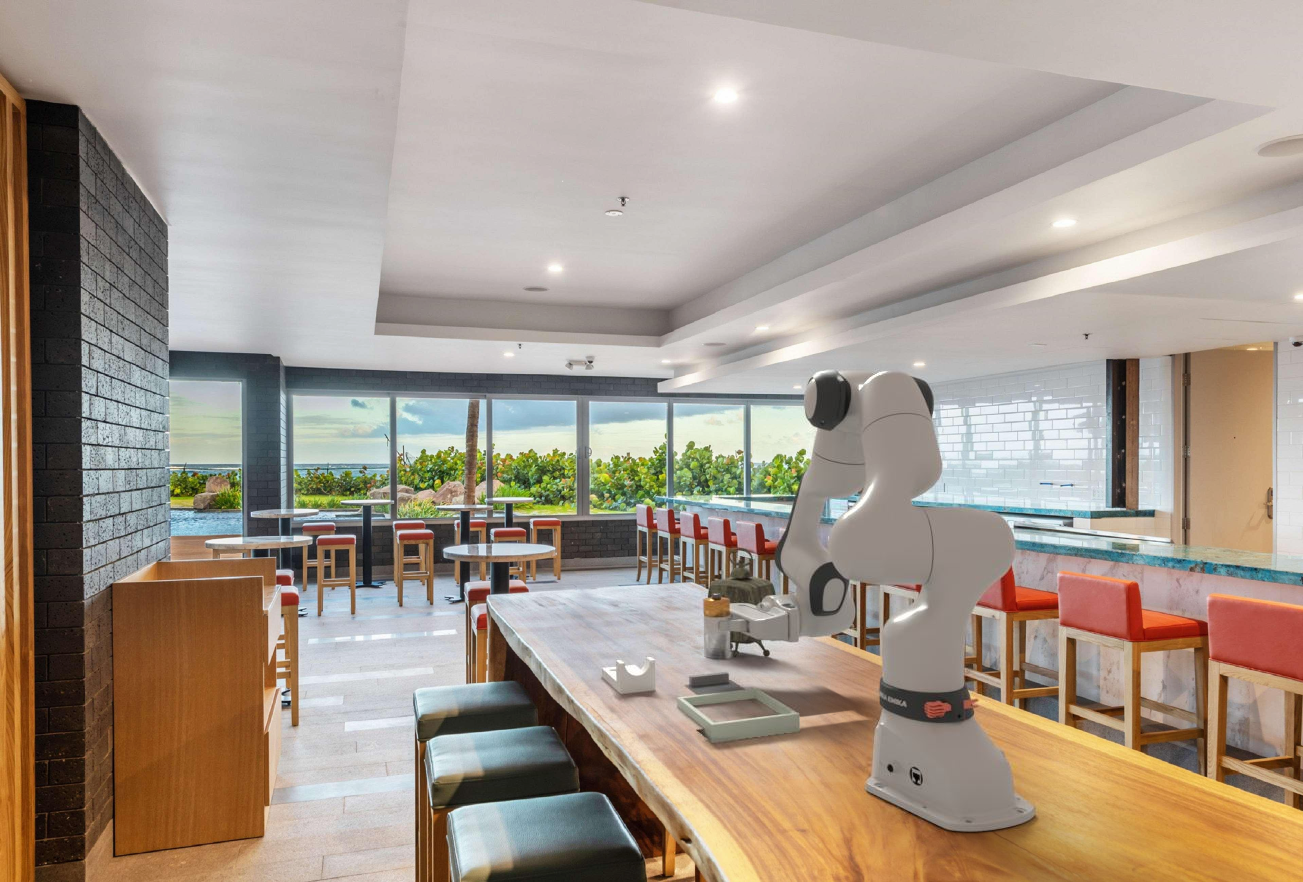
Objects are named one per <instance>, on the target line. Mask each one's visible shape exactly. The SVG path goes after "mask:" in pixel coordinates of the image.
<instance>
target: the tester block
mask: <svg viewBox="0 0 1303 882" xmlns="http://www.w3.org/2000/svg"><path fill="white" fill-rule="evenodd" d="M729 675H730V674H729V673H728V671H723V672H713V673H712V672H711V673H703V674H693V675H689V676H688V679H689V681H688V684H684V686H685V687H686V688H687V689H689V690H690V691H692V692H693V694H695V695H703V694H712V693H721V692H730V691H739V690H747V689H746V688H744V687H742V686H741V685H739V684H738V683H737V682H735V681H733V680H732V679H730V676H729Z"/></svg>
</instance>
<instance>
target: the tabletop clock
mask: <svg viewBox="0 0 1303 882" xmlns="http://www.w3.org/2000/svg"><path fill="white" fill-rule="evenodd" d="M736 551H737V552H738V551H739V552H745V553H747V554H748V555H749V557H750V560H749V561H748V562H745V563H743V562H744V561H743V559H738V561H734V560H733V559H732V558H731V556H732V554H733V552H736ZM753 559H754V558H753V554H752V553H751V552H750V550H749V549H747V548H744V547H735V548H732V549H731V550H730V551H729V553H728V560H729V562H730V563H731V564H733V565H735V566H736V567H734V568H733V569H732V570H731V572H730V575H729V577H727V578H721V579H716V580H713V581H712V582H711V584H710V585H709V588H708V592H707V598H711V597H712V594H716V593H717V594H721V597H722V598H728V599H730V603H748V604H752V605H755V606H757V605H758V604H759V603H761V602H762V600H763V598H764V597H766V596H772V595H777V594H776V589H775V586H774V584H773V582H772V581H770V580H768V579H765V578H760V577H755V576H752V573H751V571H750V570H749V568H747V566H750V565H751V564H752V563H753ZM754 643H755V644H756V645H758V646H759V647H760V648H761V650H762V651H763V652H762V655H763V656H764V657H767V658H768V657H770V654H771V651H770V650H768V649H766V648H765V646H764V643H763V642H762V640H759V639H755V638H753V637H751V636H749V635H746V634H744V633H742V632H737V631H730V650H732V649H733V648H734V650H733V651H732V656H733V658H738V657H739V656H740V651H739V650H738V649H739V645H740V644H741V645H742V644H743V645H751V644H754ZM734 645H735V646H734Z"/></svg>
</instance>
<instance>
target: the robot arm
mask: <svg viewBox="0 0 1303 882" xmlns="http://www.w3.org/2000/svg"><path fill="white" fill-rule="evenodd" d="M934 402H935V399H934V393H933V391H932V389H931V387H930V385H929V384H928V382H927V381H925V380H924V379H921V378H918V377H915V376H912V375H910V374H908V373H906V372H904V371H901V370H884V371H879V372H878V371H872V370H858V369H857V370H853V369H851V370H837V369H834V368H833V369H826V370H820V371H817V372H815V373H814V374H813V375H812V376H811V377H810V378H809V380H808V381H807V385H806V388H805V391H804V395H803V406H804V407H803V408H804V414H805V417H806V420H807V421H808V422H809V423H810V425H811V426H812V427H814V428H817V429H816V433H815V437H814V442H813V448H812V453H811V458H810V460H809V461H810V462H809V465H808V467H807V468H805V470H804V471H803V474H802V476H801V478H800V480H799V482H798V485H797V489H796V492H795V495H794V499H793V503H792V506H791V511H790V515H789V517H788V521H787V525H786V527H785V530H784V532H783V534H782V536H781V538H780V539H779V541H778V543H777V545H776V548H775V551H774V563H775V566H776V568H777V569H778V571H779V572H780V573H782V574H783V575H784V576H785V577H786V578H787V579H789V580H790V581H791V582H792V584H794V585H795V592H794V593H788V594H776V595H772V596H766V597H764V598H763V600H762V602H761V603H759V604H758V605H757V606H755V605H752V604H748V603H730V620H729V621H728V620H720V621H718V629H719V630H721V631H737V632H742V633H744V634H746V635H749V636H751V637H753V638H755V639H759V640H761V641H770V642H781V641H782V642H786V643H798V642H799V640H800V638H802V637H807V638H821V637H828V636H833V635H838V634H840V633H842V632H844V631H846V630H848V629H849V628H851V626H852V625H853V623H854V620H855V617H856V605H855V601H854V600H853V598H852V597H851V594H850V591H849V586H850V581H854V582H855V581H856V582H860V583H866V584H870V585H877V586H883V585H884V586H887V585H888V586H889V585H890V586H891V585H893V586H894V585H895V586H896V585H899V586H900V585H904V586H905V585H908V586H909V585H920V586H921V587H920V588H921V589H920V591H919V594H918V596H917V597H916V599H915V600H914V601H913V602H912V603H911V604H910V605H908V606H907V607H905V608H903V609H901V610H900V609H899V610H898V611H897V612H896V613H893V614H892V615H891V616H890V617H889V618H888V620H886V622H885V623H884V626H883V628H882V631H881V650H882V651H881V655H882V657H881V660H882V663H881V667H882V668H881V669H882V670H881V671H882V677H880V679H879V686H878V697H879V698H878V699H879V705H880V707H881V713H880V717H879V720H878V722H877V725H875V729H874V737H873V747H872V749H873V751H872V763H871V776H870V777H868V779H866V781H865V788H864V789H865V790H866V791H867V792H869V793H870V794H872V795H875V796H877V797H879V798H881V799H882V800H885V801H887V802H889V803H891V804H893V805H896V806H898V807H900V808H902V809H903V810H906V811H908V812H911V813H912V814H914V815H917V816H918V817H920V818H922V819H924V820H926V821H928V822H931V823H932V824H935V825H937V826H939V827H941V828H943V829H945V830H948V831H955V832H983V831H993V830H999V829H1006V828H1009V827H1013V826H1017V825H1021V824H1024V823H1027V822H1028V821H1030V820H1032V819H1033V818H1034V816H1035V815H1036V809H1035V806H1034V805H1033V804H1032V803H1030V802H1029V801H1027V800H1026V799H1025V798H1024V797H1022V796H1021V795H1019V793H1017V792H1016V791H1015V787H1014V785H1015V784H1014V776H1013V772H1012V767H1011V764H1010V762H1009V761H1008V759H1007V758H1006V753H1005V751H1004V750H1003V749H1002V748H1001V747H997V746H996V744H995V743H994V742H993V740H992V739H991V738H990V737H989V735H988V733H986V731H985V730H984V728H983V727H982V726H981V724H980V723H979V722H978V721H977V720H976V717H975V716H974V715H975V710H974V709H976V708H979V707H980V706H979V704H978V705H977V704H976V705H973V704H975V703H977V702H979V699H978V698H974V699H973V698H971V693H970V691H969V689H968V686H967V684H966V682H965V650H966V649H965V648H966V635H967V629H968V626H969V622H970V619H971V617H972V614H973V612H974V610H975V607H976V605H977V604H978V603H979V601H980V599H981V598H982V597H983V595H984V594H985V593H986V591H987V590H988V589H989V588H991V586H993V585H994V584H995V583H996V582H997V581H999V580H1000V579H1001V578H1003V577H1004V576H1005V575H1006V574H1007V573H1008V572H1009V570H1010V569H1011V567H1012V566H1013V562H1014V561H1015V556H1016V548H1017V547H1016V540H1015V535H1014V532H1013V529H1012V528H1011V527H1010V525H1009V523H1008V522H1007V521H1006V520H1005V518H1004V517H1003V516H1001V514H1000V513H998V512H996V511H991V510H986V509H981V508H973V507H970V506H969V507H968V506H918V505H917V506H915V505H914V504H913V502H912V500H913V499H916V498H917V497H920V496H922V495H924V494H926V493H927V492H928V491H929V490H931V489H932V488H934V486H935V485H936V484H937V482H938V481H939V480H940V478H941V475H942V472H943V460H942V459H943V458H942V456H941V452H940V449H939V443H938V440H937V436H936V431H935V426H934V423H933V414H934V408H935V407H934V406H935V403H934ZM861 491H862V492H861ZM859 492H861V493H860V496H859V497H858V499H857V501H856V502H855V503H854V504H853V505H852V506H851V507H850V508H849V509H847V510H846V511H845V512H843V513H842V514H841V515H839V517H838V518H837V519H836V520H835V522H834V523H833V525H832V527H831V530H830V531H829V536H828V543H827V545H828V549H827V548H826V547H825V546H824V545H823V543H822V542H821V540H820V537H819V533H818V529H819V528H820V527H819V526H820V523H821V519H822V517H823V513H824V510H825V505H826V503H827V501H828V499H830V500H831V499H832V500H833V499H846V498H850V497H853V496H855V495H856V494H858V493H859Z"/></svg>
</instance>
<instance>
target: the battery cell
mask: <svg viewBox="0 0 1303 882" xmlns="http://www.w3.org/2000/svg"><path fill="white" fill-rule="evenodd" d="M702 602H703V603H702V606H703V609H702V610H703V614H702V615H703V647H704V648H703V649H704V650H703V651H704V653H703V654H704V658H705V659H707V660H714V661H717V660H718V661H720V660H722V661H723V660H727V659H730V658H731V649H730V631H721V630H719V629H718V621H720V620H728V621H729V620H730V599H728V598H722V597H721V594H717V593H716V594H712V597H711V598H708V597H705V598H703V601H702Z"/></svg>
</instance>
